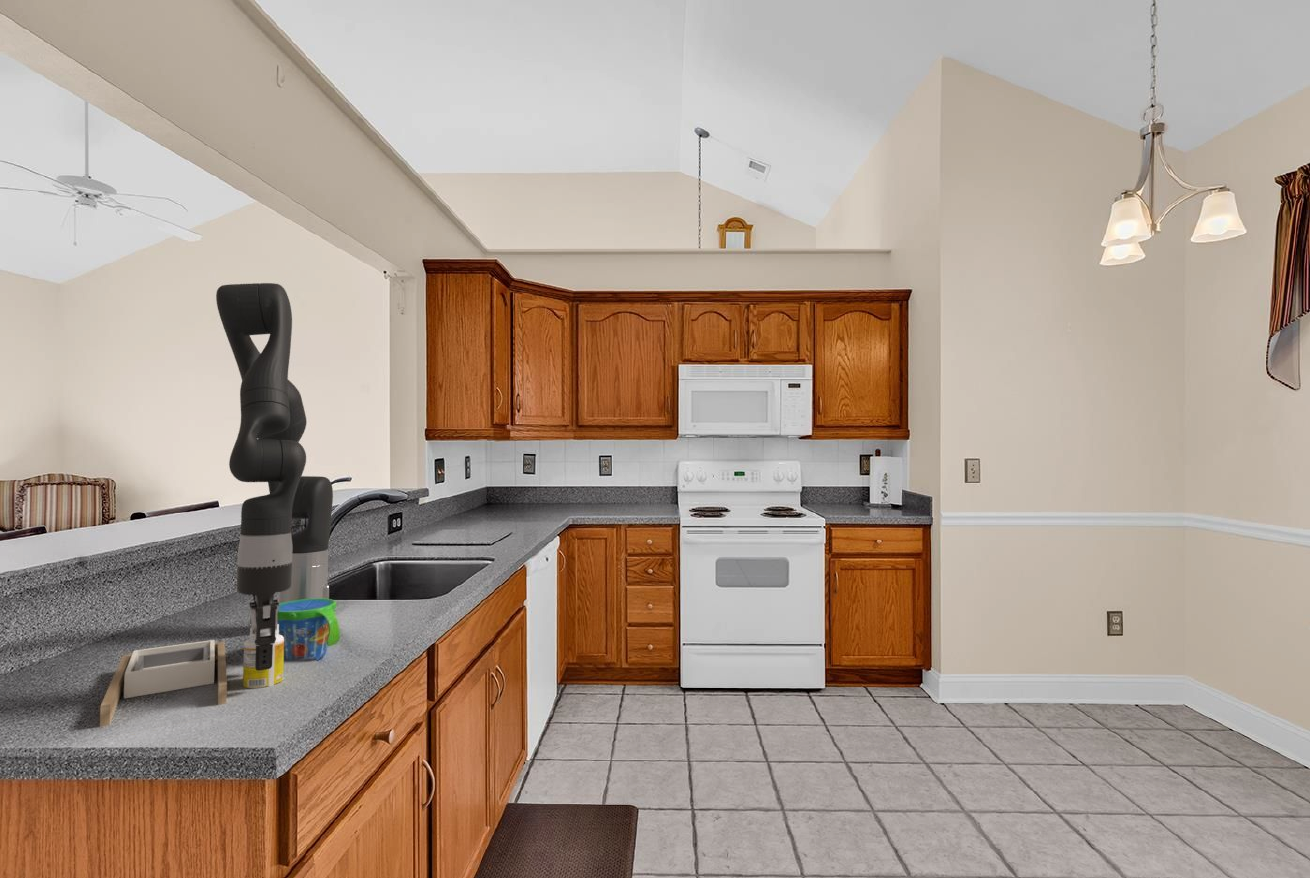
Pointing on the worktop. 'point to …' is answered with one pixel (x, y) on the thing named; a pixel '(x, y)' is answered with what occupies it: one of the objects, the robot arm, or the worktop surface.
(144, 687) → the box
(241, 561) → the robot arm
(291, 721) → the worktop surface
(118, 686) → the bay
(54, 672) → the worktop surface
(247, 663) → the supplement bottle
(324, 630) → the snack cup
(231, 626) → the worktop surface
